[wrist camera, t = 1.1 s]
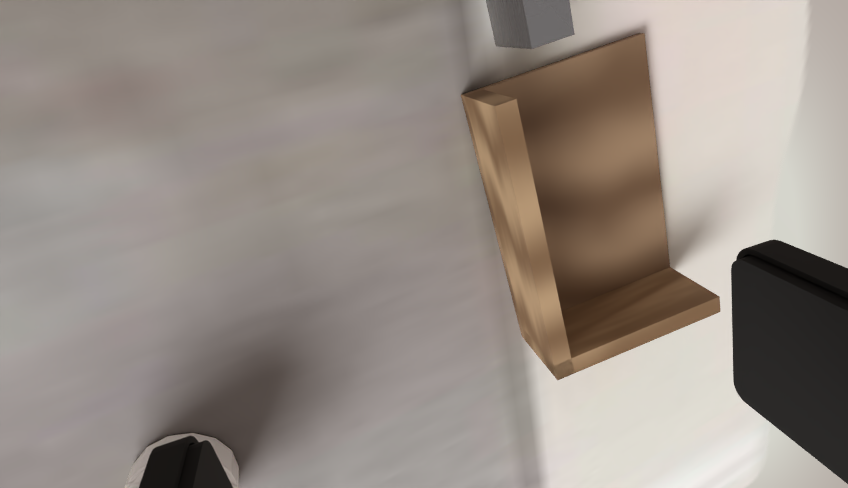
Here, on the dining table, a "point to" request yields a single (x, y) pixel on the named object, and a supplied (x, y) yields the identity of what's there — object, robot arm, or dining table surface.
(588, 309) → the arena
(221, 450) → the white cup
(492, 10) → the bracket
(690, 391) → the dining table surface
